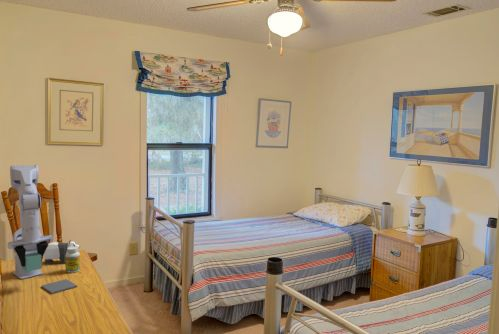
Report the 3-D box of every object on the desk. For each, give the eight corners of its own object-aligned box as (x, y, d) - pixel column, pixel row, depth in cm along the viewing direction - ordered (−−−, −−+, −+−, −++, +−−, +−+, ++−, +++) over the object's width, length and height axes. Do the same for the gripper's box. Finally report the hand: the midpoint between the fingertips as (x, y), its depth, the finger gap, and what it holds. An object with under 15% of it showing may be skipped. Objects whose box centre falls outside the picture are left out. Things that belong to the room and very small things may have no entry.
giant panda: (41, 265, 167) (41, 243, 166) (45, 261, 172) (44, 239, 171) (79, 263, 171) (78, 241, 170) (81, 259, 176) (80, 238, 175)
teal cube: (21, 268, 143) (21, 254, 143) (36, 265, 147) (35, 252, 146) (26, 271, 140) (26, 258, 139) (41, 268, 144) (41, 255, 143)
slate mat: (41, 287, 144) (41, 285, 144) (66, 280, 151) (66, 278, 151) (51, 294, 138) (51, 292, 138) (77, 287, 145) (77, 285, 145)
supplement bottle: (78, 267, 165) (78, 245, 164) (81, 271, 161) (81, 248, 160) (64, 269, 162) (64, 247, 161) (66, 274, 158) (66, 250, 157)
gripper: (12, 232, 134) (13, 271, 135) (56, 226, 145) (56, 262, 146) (5, 229, 139) (6, 266, 140) (48, 222, 149) (48, 257, 151)
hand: (31, 264), depth 143 cm, fingers closed on teal cube, 5 cm apart
